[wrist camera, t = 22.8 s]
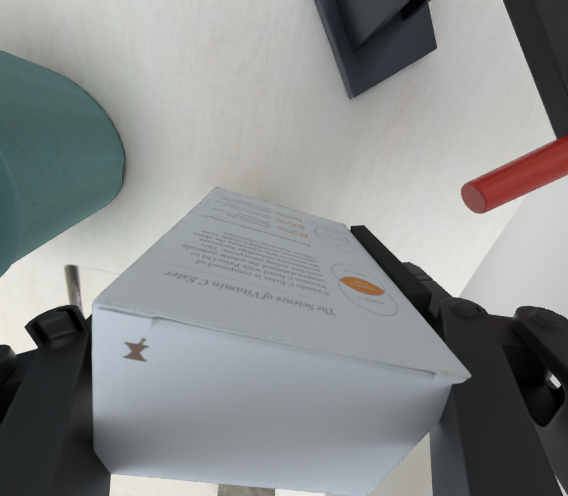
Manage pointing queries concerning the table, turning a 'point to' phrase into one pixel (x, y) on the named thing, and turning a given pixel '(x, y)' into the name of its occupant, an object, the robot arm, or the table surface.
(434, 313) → the robot arm
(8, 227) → the flower pot
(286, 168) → the table surface
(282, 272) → the small box
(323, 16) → the bracket
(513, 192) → the lever
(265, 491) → the multicoloured stacked piece
